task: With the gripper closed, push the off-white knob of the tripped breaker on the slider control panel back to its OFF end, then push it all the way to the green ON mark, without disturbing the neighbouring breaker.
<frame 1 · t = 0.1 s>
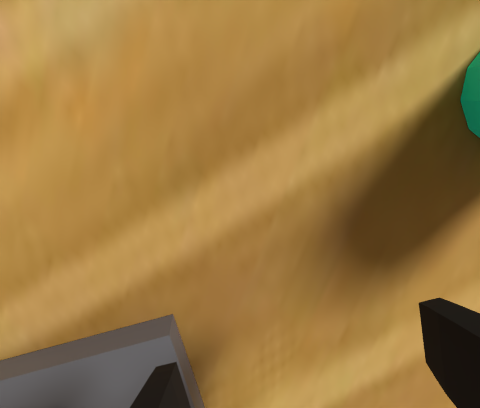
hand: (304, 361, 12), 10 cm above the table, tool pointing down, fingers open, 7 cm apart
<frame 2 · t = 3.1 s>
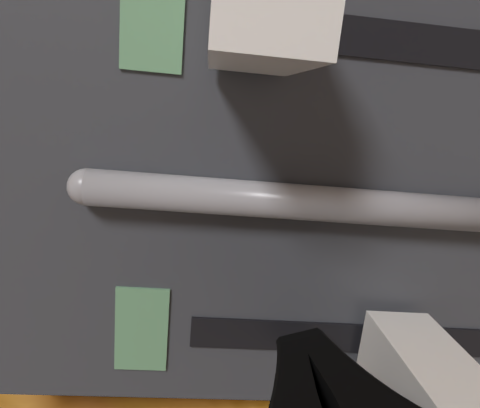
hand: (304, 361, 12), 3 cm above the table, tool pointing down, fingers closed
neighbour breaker: (263, 3, 8), point 5 cm above the table, slide at 10.0 cm
slider control panel: (318, 186, 14), on the table
tripped breaker: (425, 394, 11), point 5 cm above the table, slide at 4.7 cm, touching gripper
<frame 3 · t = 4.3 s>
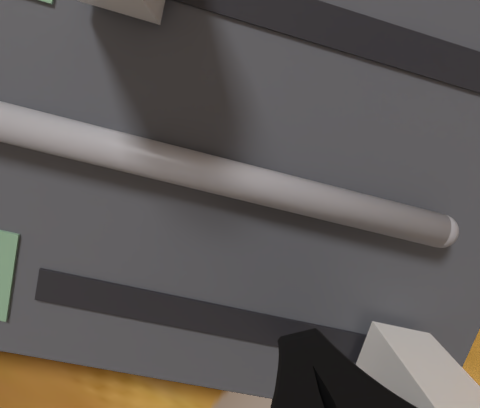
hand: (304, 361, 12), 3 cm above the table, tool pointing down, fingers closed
slider control panel: (207, 159, 13), on the table
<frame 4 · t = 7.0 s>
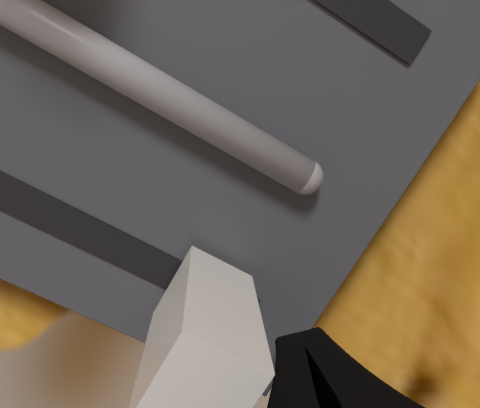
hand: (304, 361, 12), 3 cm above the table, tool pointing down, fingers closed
slider control panel: (93, 49, 12), on the table
tripped breaker: (201, 336, 10), point 5 cm above the table, slide at 0.8 cm, touching gripper
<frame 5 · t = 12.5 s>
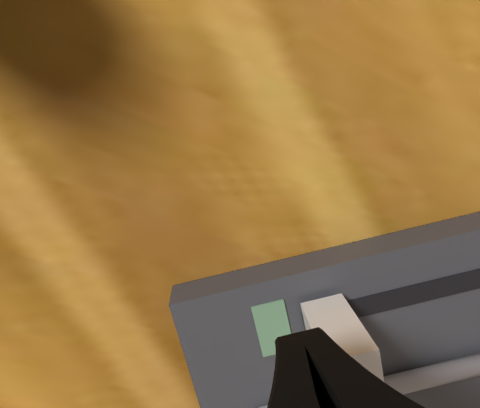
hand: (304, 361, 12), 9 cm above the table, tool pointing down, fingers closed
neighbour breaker: (339, 347, 17), point 5 cm above the table, slide at 10.0 cm
slider control panel: (378, 353, 23), on the table
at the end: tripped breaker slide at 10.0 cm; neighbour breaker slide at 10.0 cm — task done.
